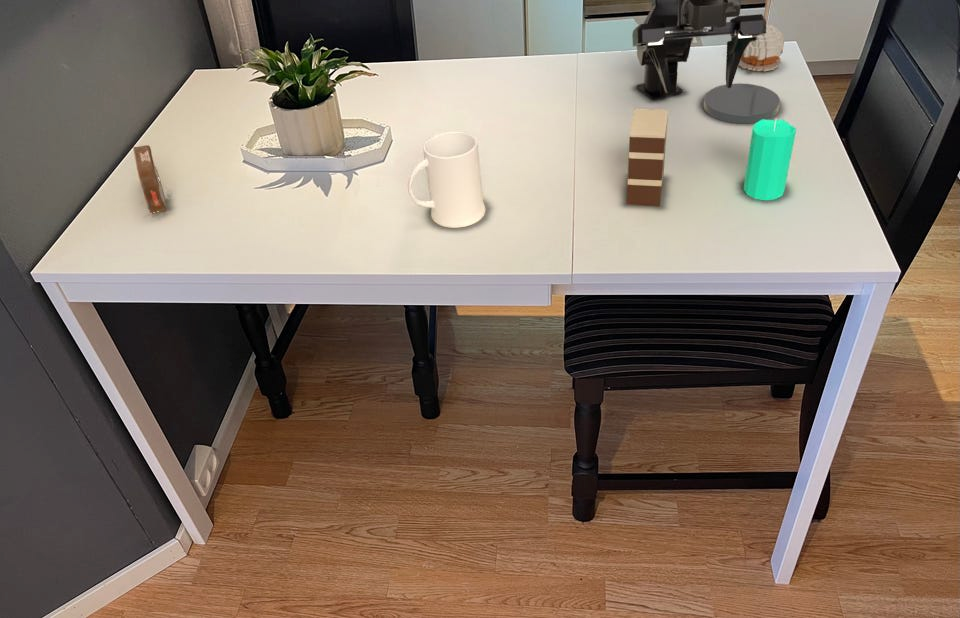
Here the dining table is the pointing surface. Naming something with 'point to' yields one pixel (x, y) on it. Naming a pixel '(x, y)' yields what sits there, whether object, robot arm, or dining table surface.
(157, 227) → the dining table surface
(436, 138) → the mug
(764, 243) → the dining table surface
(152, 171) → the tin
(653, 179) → the cake slice
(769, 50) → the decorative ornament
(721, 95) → the plate
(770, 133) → the candle
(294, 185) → the dining table surface
